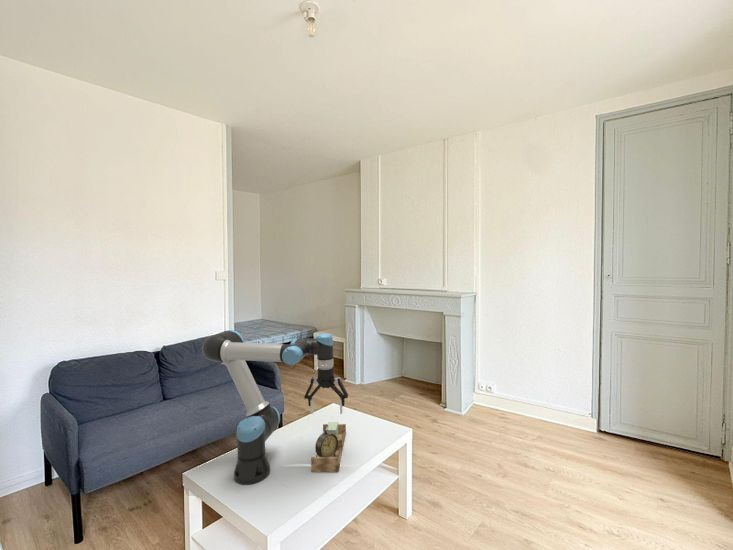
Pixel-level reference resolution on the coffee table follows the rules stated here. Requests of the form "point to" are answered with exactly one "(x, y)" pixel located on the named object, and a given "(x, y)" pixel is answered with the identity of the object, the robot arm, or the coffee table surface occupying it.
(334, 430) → the sage block
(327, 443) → the alarm clock
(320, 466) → the wooden rack
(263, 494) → the coffee table surface
